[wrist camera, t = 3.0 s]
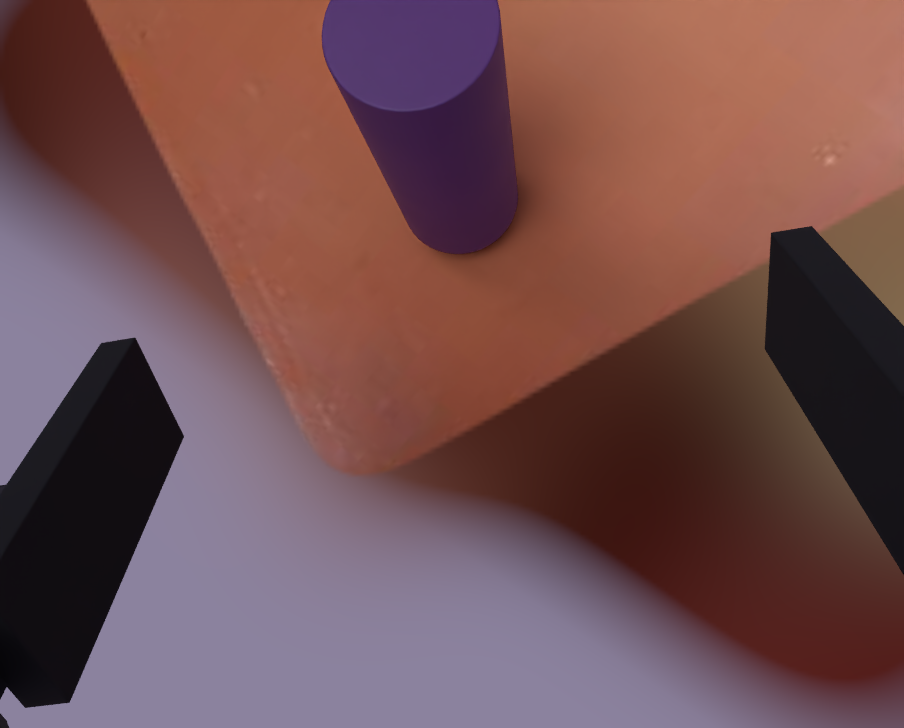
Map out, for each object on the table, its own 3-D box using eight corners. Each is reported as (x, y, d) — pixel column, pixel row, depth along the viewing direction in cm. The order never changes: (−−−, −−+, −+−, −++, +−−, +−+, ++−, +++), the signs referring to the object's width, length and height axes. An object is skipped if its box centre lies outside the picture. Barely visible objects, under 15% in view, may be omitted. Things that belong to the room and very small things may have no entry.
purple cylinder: (415, 271, 30) (331, 126, 19) (401, 166, 31) (312, -35, 19) (527, 251, 30) (513, 92, 18) (509, 146, 31) (486, -72, 19)
